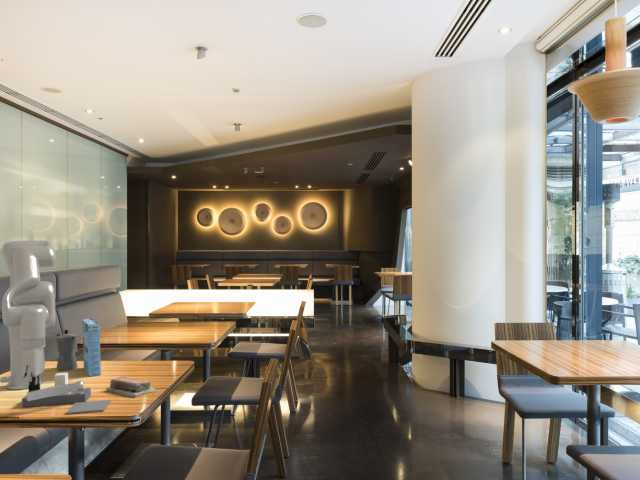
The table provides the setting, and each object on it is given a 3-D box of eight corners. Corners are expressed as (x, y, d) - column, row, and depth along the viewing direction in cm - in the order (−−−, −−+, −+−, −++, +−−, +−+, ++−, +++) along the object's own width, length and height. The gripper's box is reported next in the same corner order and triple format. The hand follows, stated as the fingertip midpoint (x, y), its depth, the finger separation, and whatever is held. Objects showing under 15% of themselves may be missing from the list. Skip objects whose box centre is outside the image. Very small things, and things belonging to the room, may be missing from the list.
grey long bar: (28, 401, 171) (28, 392, 171) (26, 400, 172) (26, 391, 172) (83, 389, 183) (83, 381, 183) (81, 388, 184) (81, 380, 184)
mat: (65, 414, 169) (65, 412, 169) (75, 404, 180) (75, 402, 180) (103, 411, 172) (103, 409, 172) (110, 401, 182) (110, 399, 182)
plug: (49, 404, 181) (48, 376, 181) (55, 398, 187) (54, 372, 187) (68, 402, 182) (68, 375, 182) (73, 397, 188) (73, 371, 188)
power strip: (21, 407, 178) (21, 397, 178) (30, 400, 186) (30, 390, 186) (85, 402, 182) (84, 392, 182) (90, 395, 190) (90, 386, 190)
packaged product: (105, 379, 196) (126, 374, 204) (105, 392, 196) (127, 385, 204) (135, 385, 186) (156, 379, 195) (135, 398, 186) (156, 391, 195)
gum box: (101, 375, 220) (99, 323, 221) (88, 377, 218) (87, 324, 218) (94, 366, 237) (93, 318, 237) (82, 368, 234) (81, 319, 234)
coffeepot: (84, 367, 235) (83, 329, 235) (64, 372, 227) (63, 332, 227) (67, 363, 244) (66, 326, 244) (47, 368, 236) (46, 329, 236)
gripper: (29, 339, 182) (30, 390, 182) (12, 348, 167) (14, 403, 167) (52, 338, 183) (53, 388, 183) (37, 346, 169) (38, 401, 169)
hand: (34, 395), depth 175 cm, fingers closed
